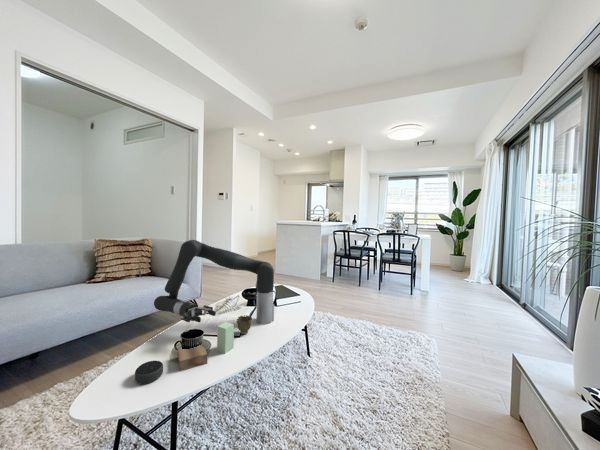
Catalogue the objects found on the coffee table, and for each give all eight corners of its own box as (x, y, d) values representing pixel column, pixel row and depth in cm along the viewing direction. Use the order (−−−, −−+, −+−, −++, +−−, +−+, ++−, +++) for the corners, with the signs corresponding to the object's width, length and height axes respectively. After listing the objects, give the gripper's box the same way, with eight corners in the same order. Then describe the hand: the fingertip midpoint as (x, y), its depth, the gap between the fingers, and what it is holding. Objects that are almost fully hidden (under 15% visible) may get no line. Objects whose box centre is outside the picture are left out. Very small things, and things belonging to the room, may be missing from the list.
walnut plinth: (202, 351, 107) (203, 342, 107) (207, 363, 98) (207, 353, 98) (177, 357, 102) (177, 348, 102) (179, 371, 93) (180, 361, 93)
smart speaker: (143, 389, 84) (143, 377, 83) (129, 379, 88) (129, 369, 88) (168, 374, 91) (168, 364, 91) (154, 366, 96) (154, 357, 96)
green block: (225, 345, 112) (225, 321, 112) (233, 348, 110) (233, 324, 110) (217, 350, 108) (217, 326, 108) (225, 353, 106) (225, 328, 105)
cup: (247, 337, 119) (248, 321, 119) (234, 336, 121) (234, 320, 121) (253, 330, 127) (254, 315, 126) (240, 329, 128) (240, 314, 128)
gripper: (172, 306, 115) (195, 313, 107) (197, 297, 128) (219, 304, 120) (171, 321, 115) (194, 330, 108) (197, 311, 128) (219, 319, 120)
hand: (207, 316), depth 114 cm, fingers open, 8 cm apart
